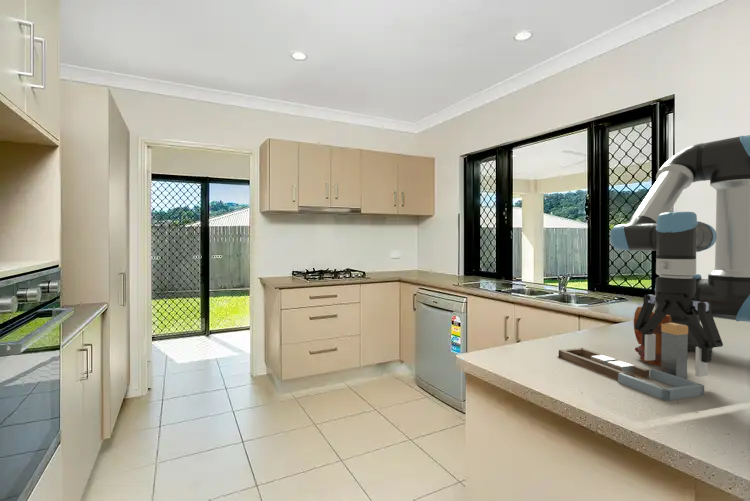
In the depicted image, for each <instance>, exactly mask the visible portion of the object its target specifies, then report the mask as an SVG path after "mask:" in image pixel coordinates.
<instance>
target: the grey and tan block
mask: <svg viewBox="0 0 750 501" xmlns="http://www.w3.org/2000/svg"><path fill="white" fill-rule="evenodd" d="M661 332H662V347H661V366H660V367H661V368H660V371H662V372H665V373H668V374H671V375H674V376H677V377H680V378H683V379H687V380H688V350H687V346H688V326H687V325H682V324H677V323H661Z"/></svg>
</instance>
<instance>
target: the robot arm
mask: <svg viewBox="0 0 750 501" xmlns="http://www.w3.org/2000/svg"><path fill="white" fill-rule="evenodd" d="M655 180H656V181H655V182H653V185H652V186H651V187H650V189H649V191H647V194H646V195H645V197H644V198H643V200H642V201H641V203H640V204H639V206H638V207H637V209H636V210H635V212H634V213H633V214H632V216H631V218H630V219H629V221H628V222H627V223H626V224H625V223H622V224H616V225H614V226H613V227H612V229H611V231H610V243H611V245H612V247H613V248H614V249H616V250H619V251H629V252H634V251H638V252H641V251H642V252H644V251H648V252H652V251H654V252H655V251H656V253H655V254H656V256H655V260H656V262H655V274H656V275H658V276H657V277H656V278H655V288H654V294H652V293H651V294H644V295H643V304H642V306H641V307H642V308H641V311H640V313H639V316H638V319H637V321H636V324H635V326H634V325H633V329H634V328H635V329H636V330H639V331H641V333H642V344H643V346H645V357H644V360H646V361H650V360H655V345H656V335H655V334H651V333H654V332H653V331H654V330H655V328H656V327H657V326H658V325H659V323H660V322H661V321H662V320H663V318H664V317H665V316H666V315H670V316H671V323H677V324H682V325H687V326H688V346H687V351H693V352H694V351H695V364H694V366H695V370H694V372H695V373H694V376H696V377H706V376H709V374H708V370H709V369H708V367H709V365H708V364H710V363H712V361H713V358H712V357H713V356H712V355H713V349H714V348H721V347H723V346H724V344H723V341H722V338H721V335H720V332H719V329H718V327H717V324H716V321H715V320H714V318H716V319H724V320H730V321H732V320H733V321H736V322H745V323H748V322H749V323H750V134H749V135H740V136H736V137H729V138H723V139H720V140H714V141H709V142H704V143H703V142H701V143H696V144H693V145H691V146H689V147H686V148H684V149H682V150H680V151H679V152H677V153H676V154H674V155H673V156H671V157H670V158H669V159H668V160H666V161H665V162H664V163H663V164H662V165H661V167H660V168H659V169H658V171H657V173H656V175H655ZM705 181H709V186H710V187H712V188H713V189H714V190H716V200H715V204H716V206H715V208H716V211H715V229H714V227H713V226H711V225H710V224H708V223H705V222H702V221H699V220H698V218H697V213H695V212H693V211H672V209H673V207H674V206H675V205H676V202H677V200H678V199H679V198H680V196H681V194H682V193H683V190H685V189H687V188H689V187H690V186H691V185H692V184H693V183H697V182H705ZM671 211H672V212H671ZM713 246H715V247H714V248H715V249H714V250H715V253H714V255H715V256H714V269H712V271H710V272H708V274H707V278H706V279H705V278H703V277H702V275H701V274H700V273H698V274H697V253H698V252H702V251H706V250H708V249H710V248H712V247H713ZM652 312H655V313H654V314H653V315H652V317H651V318H650V316H651V313H652ZM649 318H650V319H649Z"/></svg>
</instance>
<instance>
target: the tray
mask: <svg viewBox="0 0 750 501" xmlns="http://www.w3.org/2000/svg"><path fill="white" fill-rule="evenodd" d="M649 376H650V379H654V380H655V381H659V382H663V383H665V384H668V385H670V386H673V387H668V388H663V387H661V386H658V385H656V384H654V383H651V382H648V381H645V380H642V379H637V378H634V377H632V376H629V375H626V374H623V373H618V381H617V382H618V383H620V384H621V385H622V384H623V385H625V386H628V387H630V388H632V389H635V390H637V391H640V392H643V393H645V394H647V395H651V396H653V397H654V398H655V397H656V398H658V399H660V400H663V401H665V402H668V401H674V400H680V399H687V398H693V397H698V396H704V395H705V385H704V384H702V383H699V382H696V381H693V380H690V379H688V378H687V379H683V378H680V377H677V376H674V375H671V374H668V373H665V372H662V371H661V370H658V369H656V368H650V369H649Z"/></svg>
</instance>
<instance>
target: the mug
mask: <svg viewBox="0 0 750 501" xmlns="http://www.w3.org/2000/svg"><path fill="white" fill-rule="evenodd" d="M641 308H642V306H637V307H636V309H635V311H634V315H633V316H634V317H633V329H634V334H635V338H636V341H637V343H638V345H639V346H636V347H635V348H634V351H635V352H636V353H637V354H638V356H639V358H640V361H641V362H644V363H648V364H650V365H654V366H660V367H661V347H662V332H661V323H671V316H670V315H666V316H665V317H664V318H663V320H662V321H661V322H660V323H659V325H658V326H657V327H656V328H655V330H654V331H653V332H654V333H651V334H655V335H656V345H655V360H650V361H646V360H644V357H645V346H643V344H642V333H641V331H639V330H636V329H635V328H634V326H635V324H636V321H637V319H638V316H639V313H640V311H641ZM654 313H655V312H654V311H652V313H651V316H650V318H651V317H652V315H653V314H654ZM650 318H649V319H650Z"/></svg>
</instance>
